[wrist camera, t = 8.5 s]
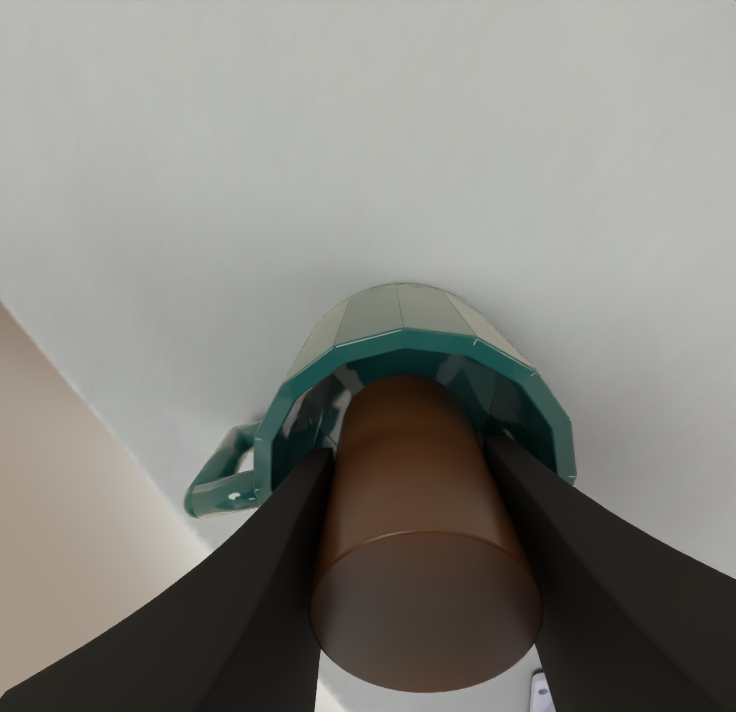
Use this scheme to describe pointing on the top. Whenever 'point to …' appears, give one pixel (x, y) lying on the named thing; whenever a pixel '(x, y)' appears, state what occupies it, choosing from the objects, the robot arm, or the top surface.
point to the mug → (375, 361)
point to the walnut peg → (419, 548)
